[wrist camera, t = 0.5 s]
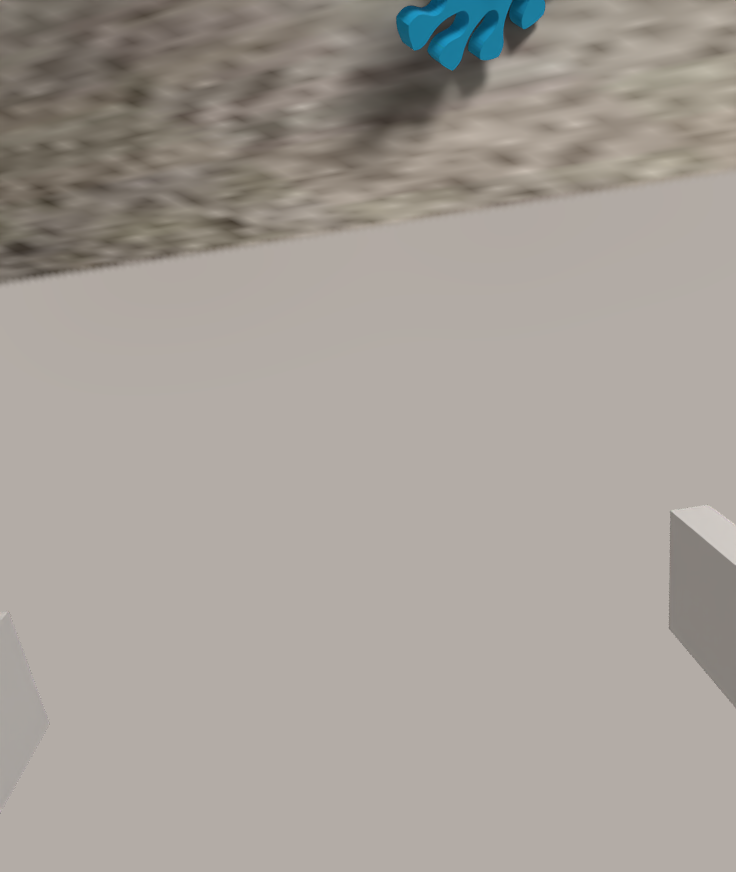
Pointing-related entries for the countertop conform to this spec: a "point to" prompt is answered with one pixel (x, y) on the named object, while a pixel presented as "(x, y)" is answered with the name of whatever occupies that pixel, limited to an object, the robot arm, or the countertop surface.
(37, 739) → the robot arm
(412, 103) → the countertop surface
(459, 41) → the blue irregular piece
